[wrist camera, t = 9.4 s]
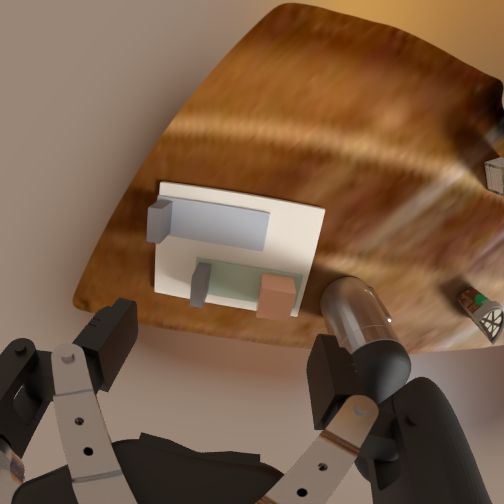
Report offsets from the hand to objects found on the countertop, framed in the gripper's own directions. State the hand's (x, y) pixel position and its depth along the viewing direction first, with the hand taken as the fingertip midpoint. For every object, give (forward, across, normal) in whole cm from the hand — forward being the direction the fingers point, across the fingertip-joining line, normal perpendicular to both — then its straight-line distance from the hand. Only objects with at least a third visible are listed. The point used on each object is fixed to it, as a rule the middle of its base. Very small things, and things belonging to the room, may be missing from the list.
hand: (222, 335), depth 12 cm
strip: (+32, +6, +5) cm, 33 cm away
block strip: (+32, -2, +14) cm, 35 cm away
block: (+31, -6, +14) cm, 35 cm away
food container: (+33, -50, +11) cm, 61 cm away
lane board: (+33, +2, +10) cm, 34 cm away
